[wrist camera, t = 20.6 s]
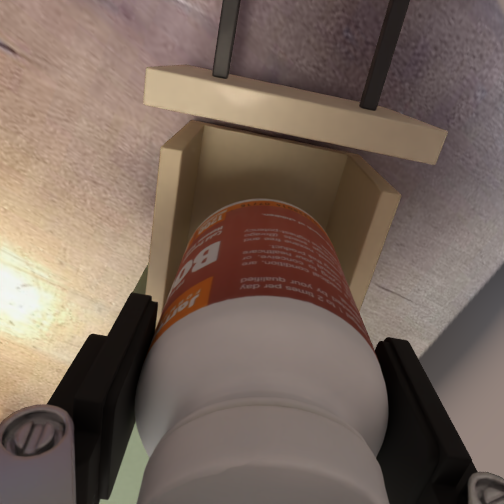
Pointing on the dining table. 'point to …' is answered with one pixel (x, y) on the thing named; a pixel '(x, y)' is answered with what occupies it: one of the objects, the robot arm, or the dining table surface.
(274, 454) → the pill bottle
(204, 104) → the drawer
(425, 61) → the dining table surface
